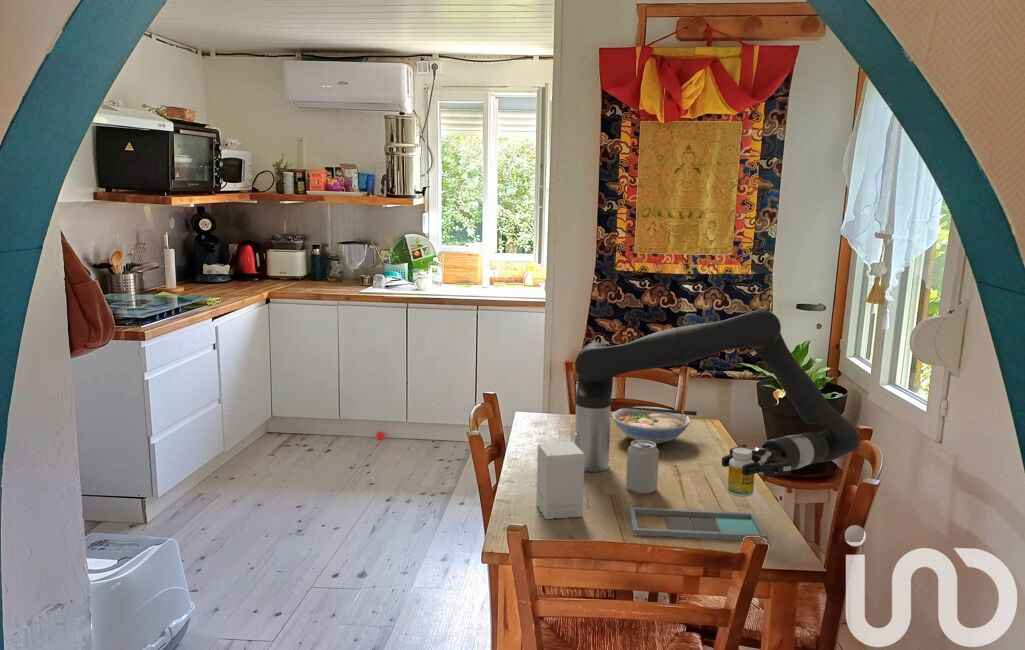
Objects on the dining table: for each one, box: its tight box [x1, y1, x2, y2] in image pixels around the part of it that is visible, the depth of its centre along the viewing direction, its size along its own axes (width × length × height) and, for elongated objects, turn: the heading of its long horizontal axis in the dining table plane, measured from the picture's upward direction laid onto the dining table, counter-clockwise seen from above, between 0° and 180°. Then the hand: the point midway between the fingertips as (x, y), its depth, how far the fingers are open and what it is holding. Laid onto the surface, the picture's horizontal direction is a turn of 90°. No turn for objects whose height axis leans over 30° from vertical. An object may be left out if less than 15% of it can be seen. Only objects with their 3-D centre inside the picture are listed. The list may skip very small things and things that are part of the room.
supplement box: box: [536, 441, 585, 520], centre depth 172 cm, size 9×9×15 cm
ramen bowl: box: [612, 405, 697, 445], centre depth 223 cm, size 25×23×8 cm
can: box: [625, 439, 660, 495], centre depth 185 cm, size 8×8×12 cm
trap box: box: [628, 506, 769, 541], centre depth 166 cm, size 28×12×1 cm, turn 86°
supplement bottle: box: [727, 447, 755, 498], centre depth 163 cm, size 5×5×10 cm
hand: (733, 466), depth 161 cm, fingers closed on supplement bottle, 5 cm apart
